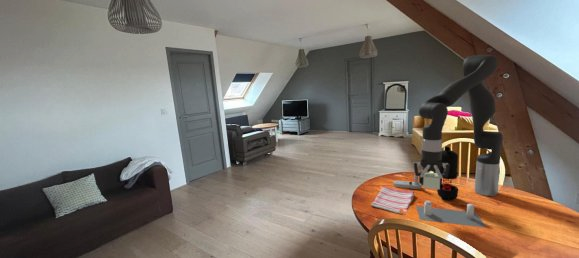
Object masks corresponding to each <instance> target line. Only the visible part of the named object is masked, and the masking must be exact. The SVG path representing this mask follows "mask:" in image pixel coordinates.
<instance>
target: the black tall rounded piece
mask: <svg viewBox="0 0 579 258" xmlns="http://www.w3.org/2000/svg"><path fill="white" fill-rule="evenodd" d="M458 160H459V155H458V153H457V152H456V151H454V150H451V147H449V146H445V147H444V149H442V158H441V161H442V163H448V164H449V165H450V168H449V173H448V177H447V178H442V185H440V189H436V193H437V195H438V196H439V198H441V199H444V200H446V201H452V200H456V199H457V197H458V196H459V195H458V194H459V188H458V186H456V185H453V184H452V180H455V179H457V178H458V162H459V161H458ZM439 171H440V173H441V174H443V172H444V167H443V165H442V166H441V167H440V168H439ZM447 181H448V182H447Z"/></svg>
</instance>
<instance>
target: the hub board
mask: <svg viewBox="0 0 579 258" xmlns="http://www.w3.org/2000/svg"><path fill="white" fill-rule="evenodd" d="M415 207H416V212H417V214H418V218H419V220H420V221H425V222H427V221H428V222H437V223H442V224H443V223H445V224H452V225H461V226H468V227H478V228H488V227H487V226H486V224H485V223H484V222H483V220H482V219H481V217H480V216H479V214H478V213H477V212H476V211H475V204H472V203H467V204H466V211H465V210H457V209H449V208H448V209H447V208H438V207H437V208H436V207H433V205H432V202H431V201H430V200H425V201H424V203H423V206H418V205H416V206H415Z"/></svg>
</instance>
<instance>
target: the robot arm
mask: <svg viewBox="0 0 579 258" xmlns="http://www.w3.org/2000/svg"><path fill="white" fill-rule="evenodd" d="M498 66H499V61H498V57H496V56H495V55H491V54H480V55H479V54H478V55H469V56H466V58H465V59H464V60H463V64H462V73H463V77H462V78H459V79H457V80H455V81H452V82H451V83H449V84H448V85H446V86H445V87H444V88H443V89H442V90H441V91H440V92H439V93H438V94H436V95H434V96H432V97H431V98H429V99H428V100H426V101H424V102H423V103H422V104H421V105H420V107H419V110H418V114H419V117H421V118H422V119H427V120H431V122H430V124H426V125H423V127H422V140H421V160H420V161H413V163H412V164H413V171H414V172H415V175H416V176H418V182H419V183H420V184H421V185H422V186H423V176H424V174H425V173H437V174H438V176H439V178H440V185H442V184H443V178H447V177H448V173H449V168H450V165H449V164H448V163H442V161H441V158H442V151H443V141H442V139H443V137H442V136H443V128H444V125H445V124H446V123H445V122H446V120H447V117H448V114H449V112H448V111H449V110H448V107H452V106H453V105H454V104H455V103H456V102H457V101H458V100H460V98H461V97H462V96H464V95H465V94H466V93H467V92H468V98H469V99H468V100H469V105H470V111H471V113H470V114H471V119H472V125H473V141H474V145H475V147H477V148H479V149H483V150H490V152H488V153H481V154H478V155H477V156H476V163H475V164H476V165H475V167H476V168H475V177H474V178H475V180H474V192H475V193H476V194H478V195H481V196H486V197H495V196H497V195H498V192H499V181H500V176H499V174H500V164H501V163H500V161H501V154H502V148H503V141H504V136H503V134H502V133H501V132H498V131H491V130H490V131H488V130H484V127H485V125H486V124H487V122H488V121H489V120H490V119H491V118H492V117H493V116H494V115H495V113H496V101H495V97H494V95H493V94H492V92H490V90H488V89H487V87H486V86H485V85H484V84H483V82H484V81H485V80H487V79H488V78H489V77H491V76H492V75H493V74H494V73H495V71H496V70H497V68H498ZM442 165H443V167H444V172H443V174H441V173H440V171H439V168H440V167H441V166H442ZM420 166H421V167H422V168H421V170H420V172H419V169H418V168H419V167H420Z"/></svg>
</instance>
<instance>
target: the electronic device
mask: <svg viewBox="0 0 579 258" xmlns="http://www.w3.org/2000/svg"><path fill="white" fill-rule="evenodd" d="M413 173H414V176H413V179H414V181H407V180H393V181H392V185H393V187H395V188H402V189H409V188H410V189H409V190H421V189H422V188H423V185H421V184H420V182H419V176H416V175H415V171H414V172H413Z"/></svg>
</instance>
